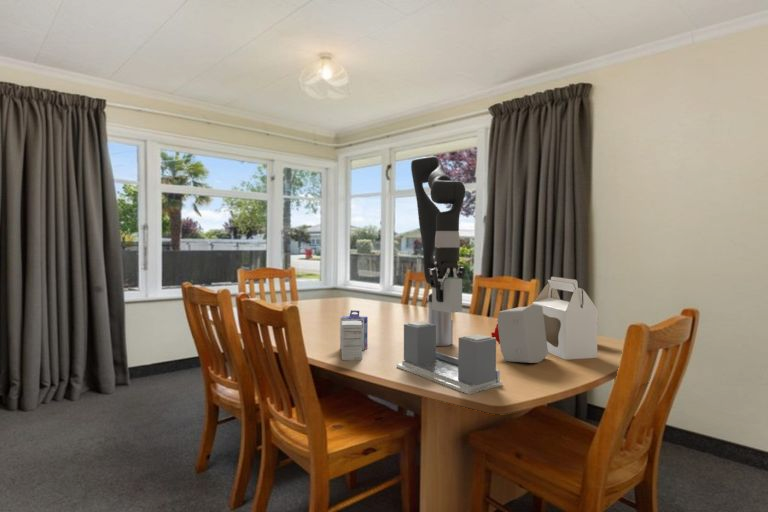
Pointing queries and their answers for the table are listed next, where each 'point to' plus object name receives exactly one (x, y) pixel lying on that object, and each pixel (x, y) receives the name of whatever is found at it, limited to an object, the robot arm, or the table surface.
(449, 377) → the rail base
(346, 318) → the ink cartridge box
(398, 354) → the table surface
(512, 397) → the table surface
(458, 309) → the block
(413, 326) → the block
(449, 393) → the table surface
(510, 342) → the electrical switch box
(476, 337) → the block
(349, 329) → the supplement box
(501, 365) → the table surface
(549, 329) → the gable box
